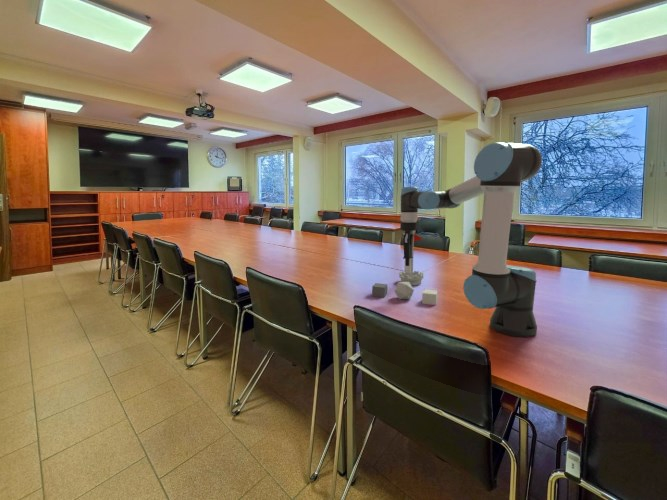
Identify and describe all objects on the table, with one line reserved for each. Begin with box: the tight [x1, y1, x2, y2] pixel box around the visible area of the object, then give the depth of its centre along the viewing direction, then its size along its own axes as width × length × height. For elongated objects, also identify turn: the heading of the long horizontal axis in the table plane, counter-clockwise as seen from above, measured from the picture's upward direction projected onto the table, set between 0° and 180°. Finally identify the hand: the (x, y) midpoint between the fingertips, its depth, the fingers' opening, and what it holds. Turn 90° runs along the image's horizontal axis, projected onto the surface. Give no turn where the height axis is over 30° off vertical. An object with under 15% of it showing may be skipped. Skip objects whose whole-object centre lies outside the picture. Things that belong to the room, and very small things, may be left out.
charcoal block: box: [371, 282, 388, 298], centre depth 163 cm, size 6×6×5 cm
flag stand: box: [398, 230, 425, 286], centre depth 182 cm, size 13×13×30 cm
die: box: [394, 281, 415, 300], centre depth 157 cm, size 8×9×10 cm
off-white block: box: [421, 288, 439, 306], centre depth 151 cm, size 6×6×5 cm
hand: (407, 272), depth 155 cm, fingers closed
